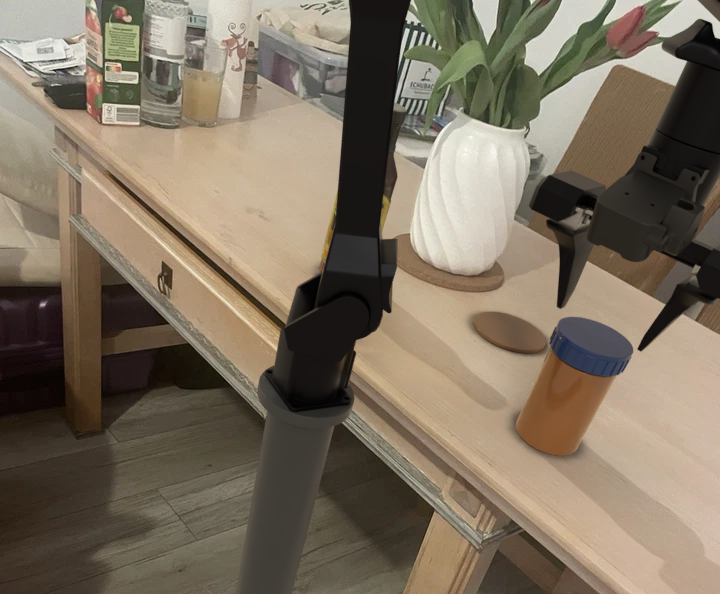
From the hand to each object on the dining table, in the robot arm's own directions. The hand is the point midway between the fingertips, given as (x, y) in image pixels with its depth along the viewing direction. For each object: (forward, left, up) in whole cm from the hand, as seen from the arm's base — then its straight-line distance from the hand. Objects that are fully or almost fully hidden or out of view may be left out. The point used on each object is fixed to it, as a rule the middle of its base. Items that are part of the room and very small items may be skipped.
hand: (599, 328), depth 61 cm
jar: (0, 0, -12) cm, 12 cm away
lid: (0, 0, -1) cm, 1 cm away
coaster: (+10, +18, -12) cm, 24 cm away
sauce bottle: (-5, +33, -12) cm, 35 cm away
